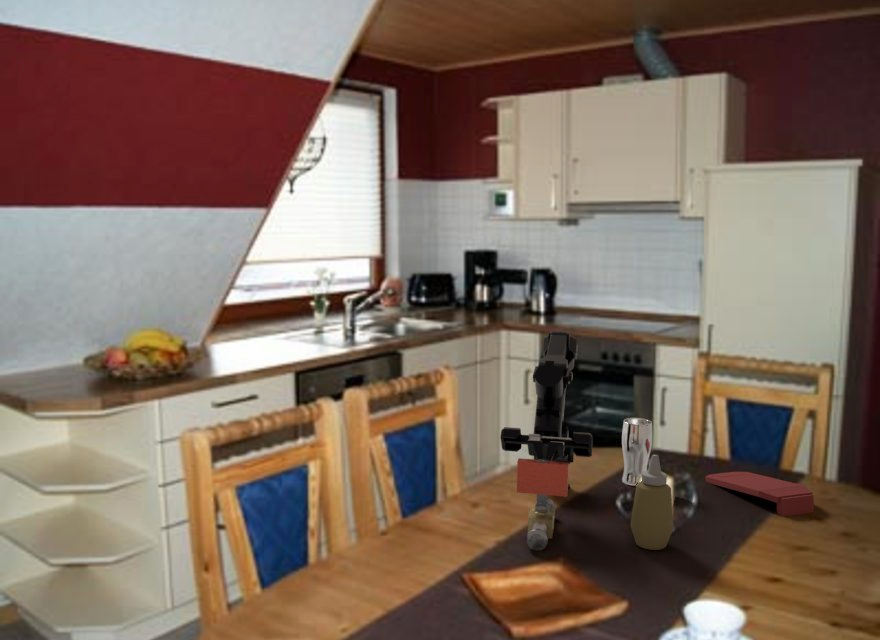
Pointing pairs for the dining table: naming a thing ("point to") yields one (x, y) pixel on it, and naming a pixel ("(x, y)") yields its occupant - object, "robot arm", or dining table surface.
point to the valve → (540, 527)
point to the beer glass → (635, 448)
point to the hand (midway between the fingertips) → (543, 479)
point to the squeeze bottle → (652, 509)
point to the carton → (768, 490)
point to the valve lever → (542, 480)
